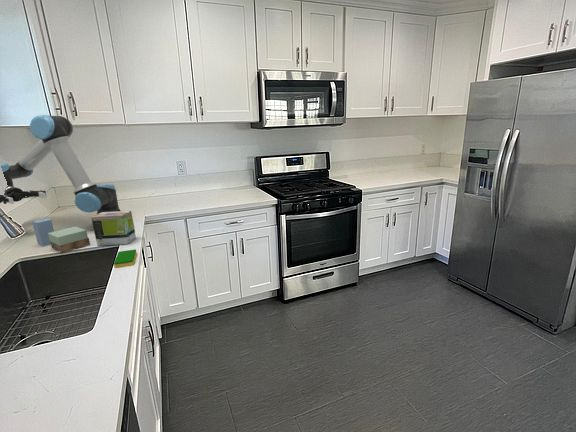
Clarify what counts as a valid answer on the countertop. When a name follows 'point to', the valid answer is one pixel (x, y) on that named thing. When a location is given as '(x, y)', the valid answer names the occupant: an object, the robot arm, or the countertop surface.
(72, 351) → the countertop surface
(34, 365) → the countertop surface
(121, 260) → the dish sponge
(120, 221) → the tea box
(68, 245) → the block
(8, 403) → the countertop surface
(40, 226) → the blue block
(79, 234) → the tower top
